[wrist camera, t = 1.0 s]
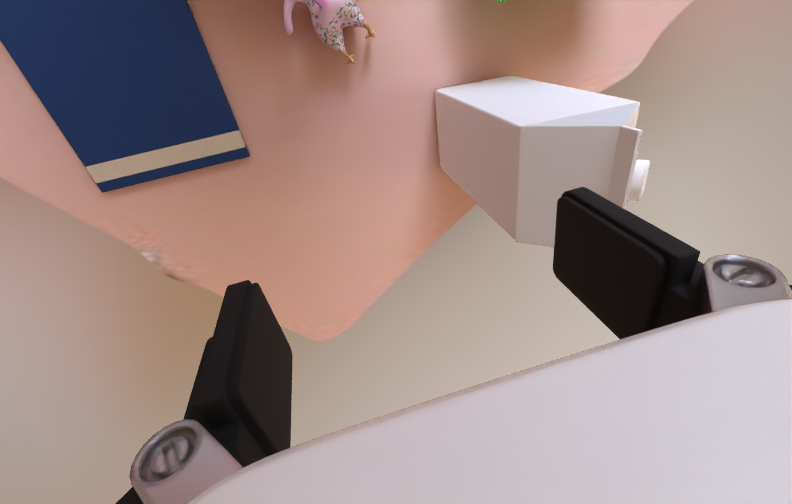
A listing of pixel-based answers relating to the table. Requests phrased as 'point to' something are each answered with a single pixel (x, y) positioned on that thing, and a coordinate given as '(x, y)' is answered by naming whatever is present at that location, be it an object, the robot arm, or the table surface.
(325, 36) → the rabbit figure
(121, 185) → the cloth
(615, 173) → the milk carton
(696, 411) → the robot arm
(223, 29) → the table surface
